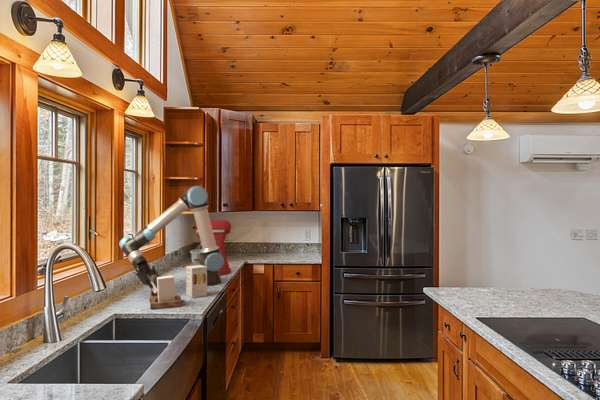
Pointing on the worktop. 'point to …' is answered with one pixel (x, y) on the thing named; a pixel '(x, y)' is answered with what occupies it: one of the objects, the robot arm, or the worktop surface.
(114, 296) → the worktop surface
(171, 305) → the brown wooden frame
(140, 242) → the robot arm
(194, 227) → the stand mixer
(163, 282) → the skincare box
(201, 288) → the supplement box
